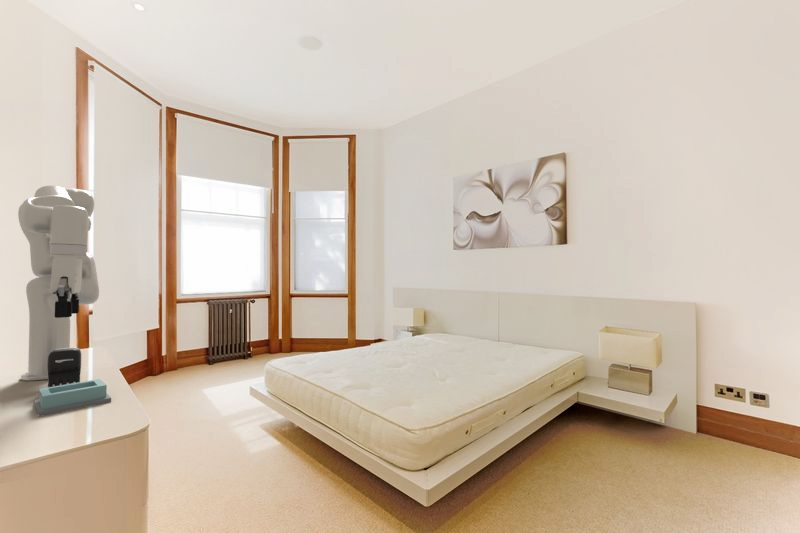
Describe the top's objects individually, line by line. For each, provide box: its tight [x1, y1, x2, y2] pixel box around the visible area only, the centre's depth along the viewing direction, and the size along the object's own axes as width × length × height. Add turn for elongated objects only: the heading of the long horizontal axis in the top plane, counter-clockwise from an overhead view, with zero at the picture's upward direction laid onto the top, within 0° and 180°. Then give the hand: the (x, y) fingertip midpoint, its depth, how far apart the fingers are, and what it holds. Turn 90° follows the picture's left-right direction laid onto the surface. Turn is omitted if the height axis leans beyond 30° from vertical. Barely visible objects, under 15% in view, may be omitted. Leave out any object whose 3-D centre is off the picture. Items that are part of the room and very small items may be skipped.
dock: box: [33, 378, 112, 418], centre depth 91 cm, size 12×13×4 cm
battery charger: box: [47, 347, 82, 387], centre depth 102 cm, size 7×4×11 cm, turn 129°
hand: (67, 315), depth 98 cm, fingers open, 9 cm apart
